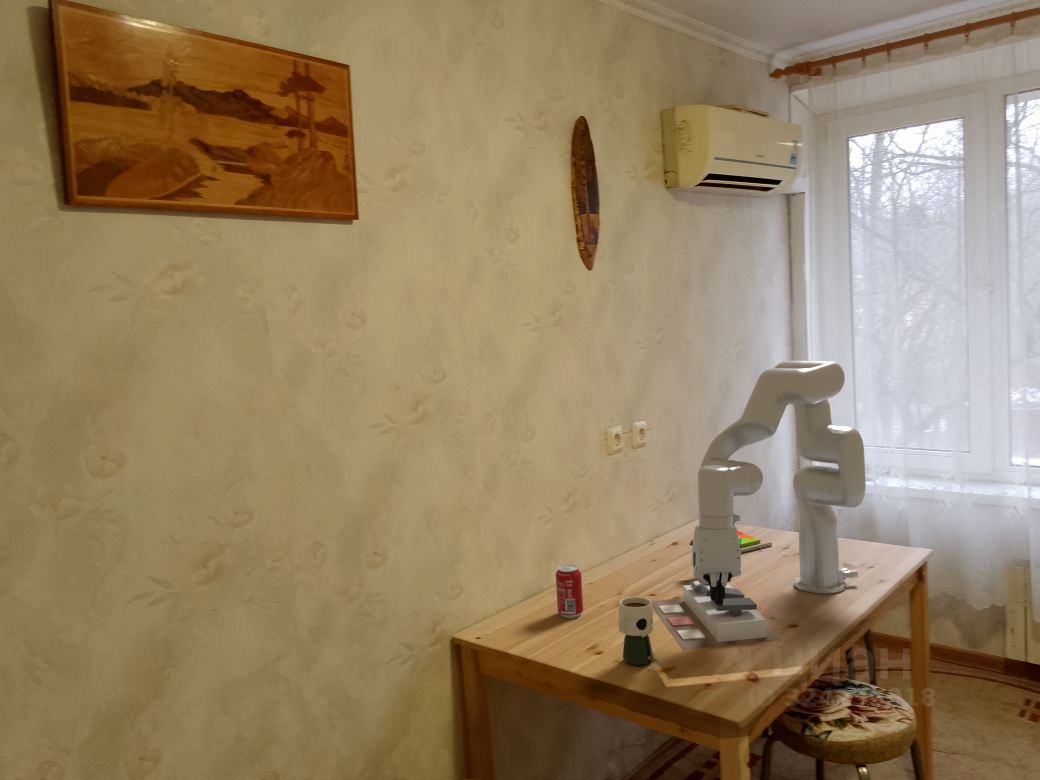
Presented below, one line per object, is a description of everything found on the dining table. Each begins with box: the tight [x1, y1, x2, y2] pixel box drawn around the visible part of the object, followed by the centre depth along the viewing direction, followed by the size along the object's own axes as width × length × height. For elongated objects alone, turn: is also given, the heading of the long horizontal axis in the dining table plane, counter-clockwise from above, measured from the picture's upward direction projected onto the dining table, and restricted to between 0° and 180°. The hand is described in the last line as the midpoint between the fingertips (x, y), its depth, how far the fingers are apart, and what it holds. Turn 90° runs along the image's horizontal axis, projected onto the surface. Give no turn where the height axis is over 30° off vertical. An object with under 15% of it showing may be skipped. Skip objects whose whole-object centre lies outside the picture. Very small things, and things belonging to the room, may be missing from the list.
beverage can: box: [555, 564, 584, 619], centre depth 203 cm, size 6×6×12 cm
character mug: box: [617, 596, 654, 666], centre depth 174 cm, size 11×7×13 cm, turn 134°
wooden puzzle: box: [690, 529, 773, 554], centre depth 254 cm, size 18×19×4 cm
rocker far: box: [689, 573, 732, 592], centre depth 200 cm, size 9×4×3 cm, turn 95°
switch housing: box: [682, 582, 767, 642], centre depth 193 cm, size 11×26×4 cm, turn 5°
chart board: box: [651, 597, 782, 650], centre depth 193 cm, size 22×30×2 cm
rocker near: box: [711, 597, 758, 617], centre depth 184 cm, size 9×4×3 cm, turn 95°
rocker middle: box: [701, 585, 746, 599], centre depth 192 cm, size 9×4×3 cm, turn 95°
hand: (717, 602), depth 184 cm, fingers closed
